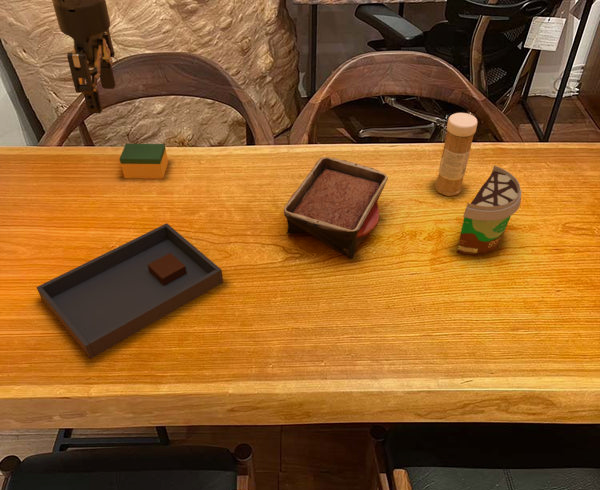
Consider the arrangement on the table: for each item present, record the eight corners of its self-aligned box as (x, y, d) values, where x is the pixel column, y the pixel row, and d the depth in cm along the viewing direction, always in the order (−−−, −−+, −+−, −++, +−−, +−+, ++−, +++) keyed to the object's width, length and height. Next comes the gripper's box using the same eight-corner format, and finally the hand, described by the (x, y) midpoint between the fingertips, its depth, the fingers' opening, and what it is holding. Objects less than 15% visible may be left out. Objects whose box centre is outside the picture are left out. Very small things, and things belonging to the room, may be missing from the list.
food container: (491, 272, 87) (508, 219, 80) (452, 258, 89) (466, 205, 82) (517, 228, 94) (535, 175, 87) (480, 215, 97) (495, 163, 90)
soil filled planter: (393, 223, 99) (399, 167, 93) (350, 274, 86) (354, 213, 80) (316, 205, 104) (317, 151, 98) (265, 250, 91) (263, 191, 85)
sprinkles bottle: (444, 178, 104) (458, 108, 95) (466, 189, 102) (483, 118, 92) (429, 189, 102) (443, 118, 92) (451, 200, 100) (468, 129, 90)
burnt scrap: (163, 286, 84) (162, 278, 83) (149, 271, 86) (147, 264, 85) (187, 273, 86) (185, 265, 85) (172, 259, 88) (170, 252, 87)
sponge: (124, 178, 104) (119, 158, 101) (130, 162, 108) (125, 143, 105) (163, 178, 104) (159, 159, 101) (168, 163, 108) (164, 143, 105)
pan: (91, 361, 76) (85, 346, 73) (43, 302, 83) (35, 287, 81) (223, 285, 85) (221, 269, 83) (169, 238, 93) (166, 222, 91)
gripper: (67, -21, 91) (92, 80, 103) (36, 13, 82) (67, 120, 93) (115, -20, 91) (134, 81, 103) (90, 14, 81) (114, 121, 93)
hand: (102, 99), depth 98 cm, fingers open, 8 cm apart
